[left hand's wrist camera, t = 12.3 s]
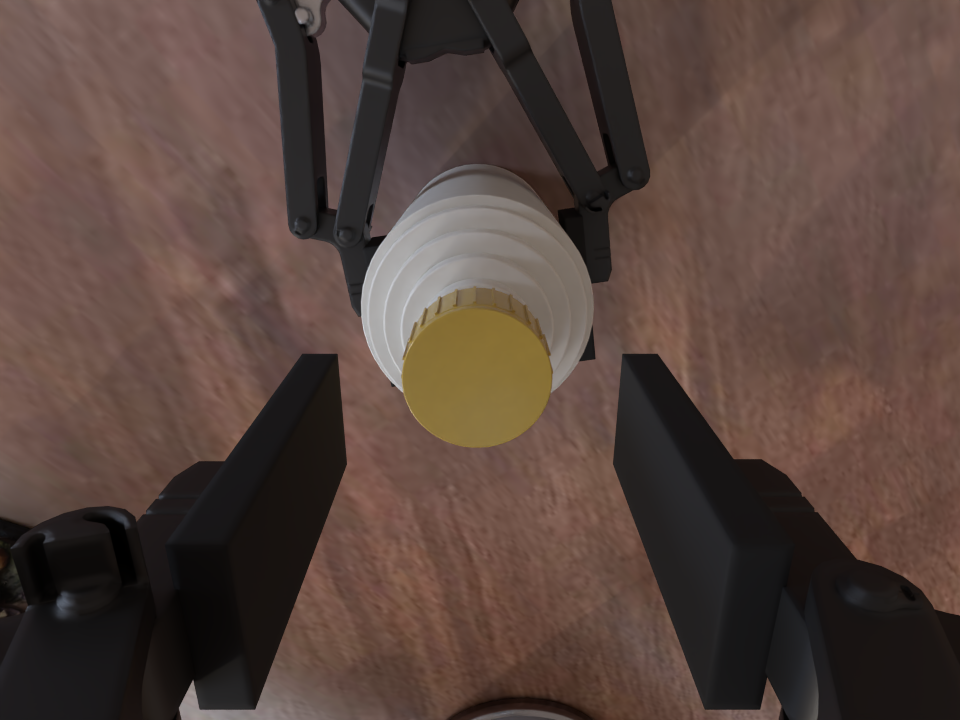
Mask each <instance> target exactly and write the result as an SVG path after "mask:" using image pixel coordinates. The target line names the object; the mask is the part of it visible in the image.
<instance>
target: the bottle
mask: <svg viewBox="0 0 960 720" xmlns="http://www.w3.org/2000/svg"><path fill="white" fill-rule="evenodd" d="M473 286H476V288H488V289H492V288H495V290H497V291H500V292H503V293H505V294H508V295H510V294H512V295H513V298H515V299H516V300H518V301H519V302H521V303H522V304H523V305H525V304H526V305H527V306H528V310H529V311H530V312H531V313H532V315H533V316H534V317H535V319H536V318H538V320H539V323H540V327H541V330H542V334H545V337H546V340H547V343H548V347H549V350H550V353H551V356H549V358H550V362H551V366H552V369H553V374H552V378H553V379H552V389H551V393H552V392H553V391H554V390H555V389H556V388H558V387H559V386H560V385H561V384H562V383H563V382H564V380H565V379H566V378H567V377H568V376H569V375H570V373H571V372H572V371H573V369H574V368H575V367H576V365H577V364H578V362H579V360H580V358H581V356H582V354H583V352H584V350H585V347H586V345H587V342H588V340H589V336H590V332H591V328H592V322H593V312H594V303H593V291H592V285H591V280H590V277H589V274H588V271H587V268H586V265H585V263H584V261H583V259H582V257H581V255H580V253H579V251H578V250H577V248H576V247H575V245H574V244H573V242H572V241H571V239H570V238H569V236H568V235H567V234H566V232H565V231H564V230H563V228H562V227H561V226H560V224H559V223H558V222H557V220H556V219H555V218H554V216H553V215H552V213H551V212H550V211H549V209H548V208H547V207H546V205H545V204H544V203H543V201H542V200H541V199H540V197H539V196H538V195H537V193H536V192H535V191H534V190H533V189H532V187H531V186H530V185H529V184H528V183H526V182H525V181H524V180H523V179H522V178H520V177H519V176H517V175H516V174H514V173H512V172H510V171H508V170H506V169H503V168H500V167H497V166H493V165H487V164H469V165H463V166H459V167H455V168H452V169H450V170H447V171H445V172H443V173H442V174H440V175H438V176H437V177H435V178H434V179H433V180H431V181H430V182H429V183H428V184H427V185H426V186H425V187H424V188H423V189H422V190H421V191H420V193H419V194H418V195H417V197H416V198H415V199H414V201H413V202H412V203H411V205H410V206H409V207H408V209H407V210H406V211H405V213H404V214H403V215H402V217H401V218H400V219H399V221H398V222H397V223H396V225H395V226H394V227H393V228H392V230H391V231H390V232H389V234H388V235H387V236H386V238H385V239H384V240H383V242H382V243H381V244H380V246H379V247H378V249H377V251H376V253H375V254H374V256H373V258H372V260H371V262H370V265H369V267H368V270H367V272H366V276H365V280H364V284H363V289H362V298H361V317H362V323H363V329H364V333H365V336H366V340H367V343H368V346H369V348H370V350H371V352H372V354H373V357H374V359H375V360H376V362H377V363H378V365H379V367H380V368H381V370H382V371H383V372H384V374H385V375H386V376H387V377H388V378H389V380H390V381H391V382H392V383H393V384H394V385H395V386H396V387H397V388H399V389H400V390H401V391H402V392H403V387H402V378H401V375H402V368H403V363H404V360H402V358H403V355H404V351H405V348H406V345H407V342H408V339H409V338H410V334H411V331H412V328H413V325H414V322H417V321H418V320H419V318H420V316H421V315H422V314H423V311H424V308H425V307H426V308H428V307H429V306H430V305H431V304H432V303H434V302H435V301H437V299H438V297H439V296H441V297H443V296H445V295H447V294H449V293H451V292H454V291H455V289H458V290H461V289H466V288H473Z"/></svg>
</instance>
